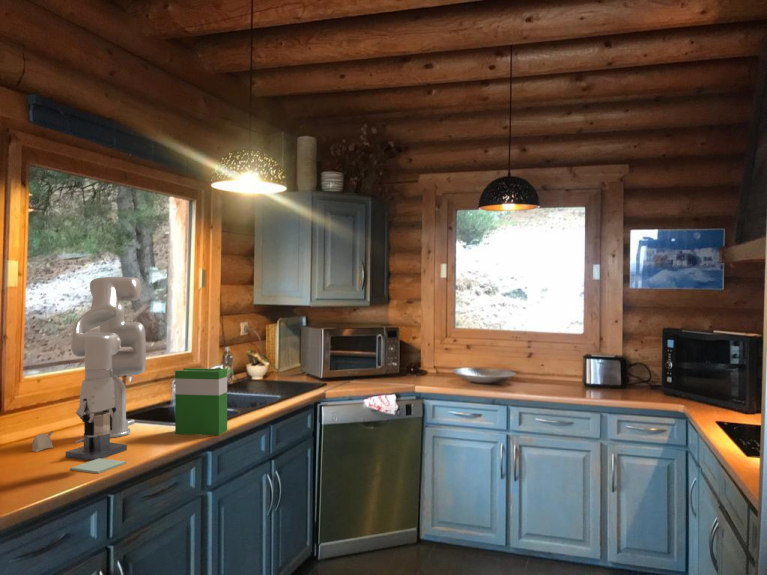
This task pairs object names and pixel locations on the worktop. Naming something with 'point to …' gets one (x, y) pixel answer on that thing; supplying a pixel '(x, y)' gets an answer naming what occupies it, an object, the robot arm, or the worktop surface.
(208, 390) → the green banded box
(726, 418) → the worktop surface
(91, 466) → the mat
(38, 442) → the decorative ornament
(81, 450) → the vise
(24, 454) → the worktop surface
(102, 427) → the hollow octagonal tube
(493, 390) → the worktop surface
